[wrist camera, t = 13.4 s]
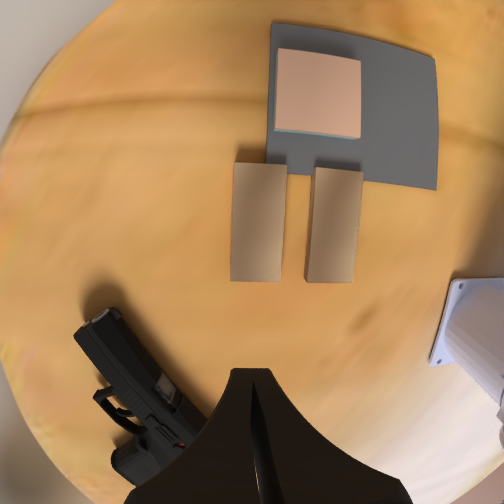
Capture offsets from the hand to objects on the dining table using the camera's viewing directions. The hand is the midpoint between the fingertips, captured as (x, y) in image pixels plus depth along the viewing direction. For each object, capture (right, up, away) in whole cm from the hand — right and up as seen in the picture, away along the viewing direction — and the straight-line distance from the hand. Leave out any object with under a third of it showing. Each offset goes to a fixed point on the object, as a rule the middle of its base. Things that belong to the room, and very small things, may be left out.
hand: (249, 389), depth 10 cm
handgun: (-10, -8, +13) cm, 18 cm away
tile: (+6, +14, +6) cm, 17 cm away
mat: (+7, +14, +7) cm, 17 cm away
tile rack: (+3, +7, +9) cm, 11 cm away
